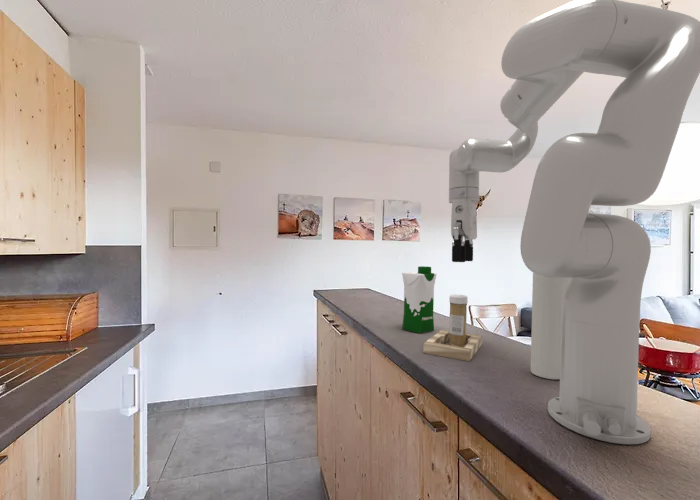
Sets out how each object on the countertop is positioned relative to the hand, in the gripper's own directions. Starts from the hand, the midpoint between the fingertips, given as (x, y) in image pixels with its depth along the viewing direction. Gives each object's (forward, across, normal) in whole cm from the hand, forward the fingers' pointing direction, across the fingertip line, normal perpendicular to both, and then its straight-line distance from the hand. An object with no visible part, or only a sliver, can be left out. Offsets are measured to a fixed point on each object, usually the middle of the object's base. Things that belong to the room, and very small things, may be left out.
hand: (462, 261), depth 89 cm
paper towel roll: (+23, -10, -20) cm, 32 cm away
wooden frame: (+22, -2, +1) cm, 23 cm away
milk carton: (+22, +11, +16) cm, 30 cm away
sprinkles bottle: (+23, +1, +1) cm, 23 cm away
